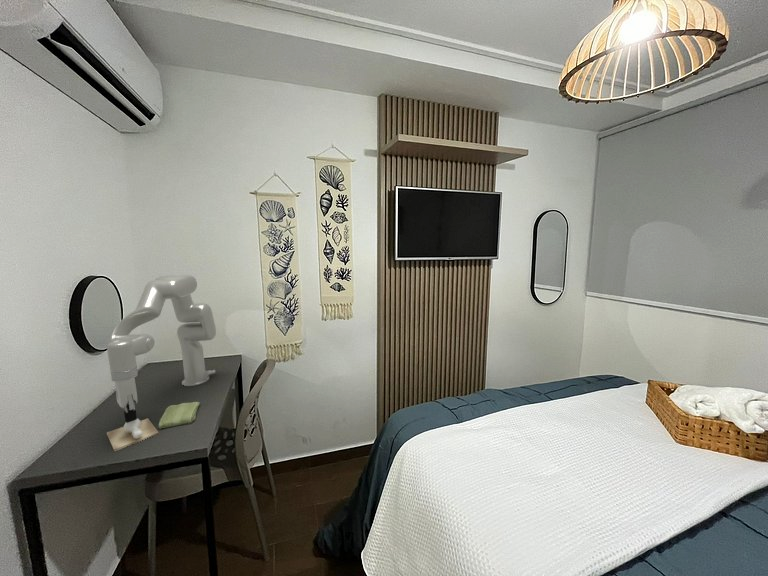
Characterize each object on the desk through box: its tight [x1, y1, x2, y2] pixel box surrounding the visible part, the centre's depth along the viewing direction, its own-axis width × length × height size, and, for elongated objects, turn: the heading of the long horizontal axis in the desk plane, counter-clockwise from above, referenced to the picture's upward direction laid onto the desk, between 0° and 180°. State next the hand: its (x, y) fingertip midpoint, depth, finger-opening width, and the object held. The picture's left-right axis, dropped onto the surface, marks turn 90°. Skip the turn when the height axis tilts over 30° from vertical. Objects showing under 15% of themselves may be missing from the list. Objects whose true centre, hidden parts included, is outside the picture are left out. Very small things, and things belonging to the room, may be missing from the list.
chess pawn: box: [123, 418, 143, 439], centre depth 118 cm, size 5×5×9 cm
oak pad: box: [106, 417, 160, 452], centre depth 120 cm, size 13×16×1 cm
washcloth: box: [158, 401, 201, 430], centre depth 133 cm, size 13×18×3 cm
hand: (131, 420), depth 119 cm, fingers closed
